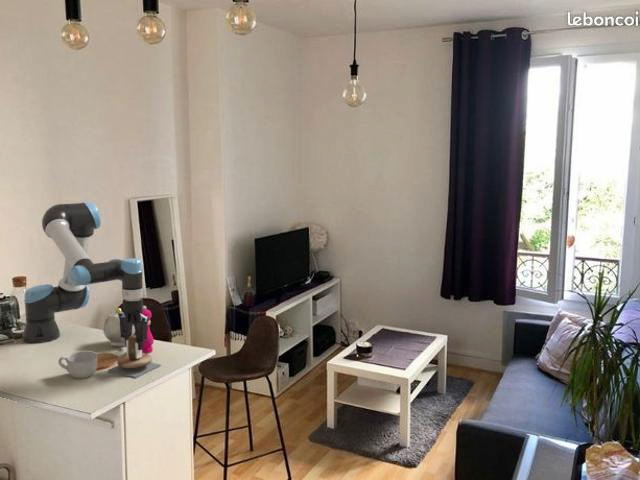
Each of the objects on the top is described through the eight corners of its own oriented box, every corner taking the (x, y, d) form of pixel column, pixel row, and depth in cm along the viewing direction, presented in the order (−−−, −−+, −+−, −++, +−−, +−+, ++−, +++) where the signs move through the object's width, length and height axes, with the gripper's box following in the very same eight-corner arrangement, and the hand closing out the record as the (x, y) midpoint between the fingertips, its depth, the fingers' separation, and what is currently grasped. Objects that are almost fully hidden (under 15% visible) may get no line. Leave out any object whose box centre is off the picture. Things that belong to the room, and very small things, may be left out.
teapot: (97, 343, 258) (95, 307, 255) (125, 336, 268) (124, 302, 265) (118, 354, 246) (116, 316, 243) (146, 346, 256) (145, 310, 253)
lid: (109, 363, 228) (108, 338, 226) (133, 353, 239) (133, 329, 237) (135, 370, 222) (134, 344, 220) (158, 359, 233) (158, 334, 232)
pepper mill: (132, 352, 248) (131, 306, 245) (143, 347, 255) (142, 302, 252) (146, 355, 246) (145, 309, 242) (157, 349, 252) (156, 304, 249)
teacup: (102, 370, 228) (102, 351, 227) (89, 382, 217) (88, 361, 216) (68, 368, 229) (67, 349, 228) (53, 379, 219) (52, 359, 217)
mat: (108, 371, 228) (108, 369, 228) (133, 359, 240) (133, 358, 240) (135, 378, 222) (135, 376, 222) (160, 366, 234) (160, 364, 234)
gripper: (109, 298, 227) (111, 355, 230) (143, 304, 219) (144, 363, 223) (123, 293, 233) (124, 349, 237) (156, 299, 226) (157, 357, 230)
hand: (134, 356), depth 230 cm, fingers closed on lid, 4 cm apart
